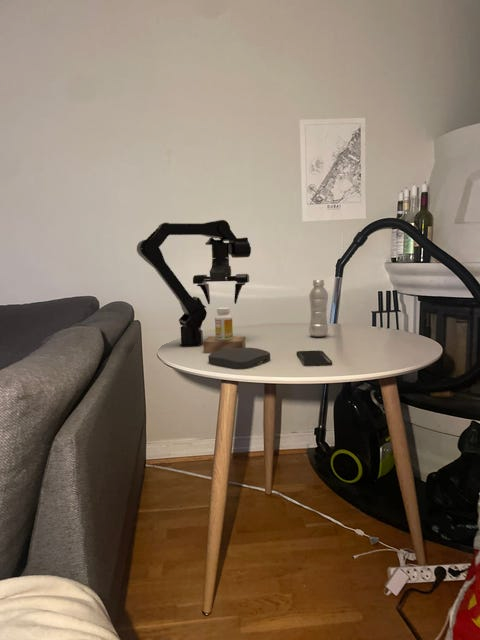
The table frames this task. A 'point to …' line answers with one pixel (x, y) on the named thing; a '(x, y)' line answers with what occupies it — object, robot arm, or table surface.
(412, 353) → the table surface
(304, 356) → the phone
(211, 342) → the block
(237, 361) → the media streaming box
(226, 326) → the supplement bottle
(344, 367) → the table surface
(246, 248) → the robot arm
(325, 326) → the plastic bottle
